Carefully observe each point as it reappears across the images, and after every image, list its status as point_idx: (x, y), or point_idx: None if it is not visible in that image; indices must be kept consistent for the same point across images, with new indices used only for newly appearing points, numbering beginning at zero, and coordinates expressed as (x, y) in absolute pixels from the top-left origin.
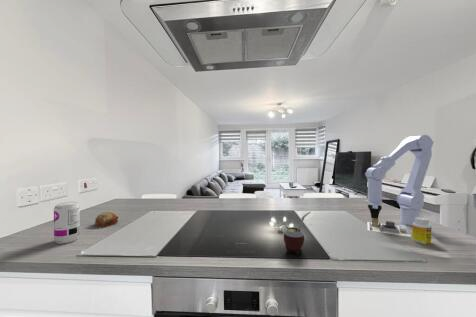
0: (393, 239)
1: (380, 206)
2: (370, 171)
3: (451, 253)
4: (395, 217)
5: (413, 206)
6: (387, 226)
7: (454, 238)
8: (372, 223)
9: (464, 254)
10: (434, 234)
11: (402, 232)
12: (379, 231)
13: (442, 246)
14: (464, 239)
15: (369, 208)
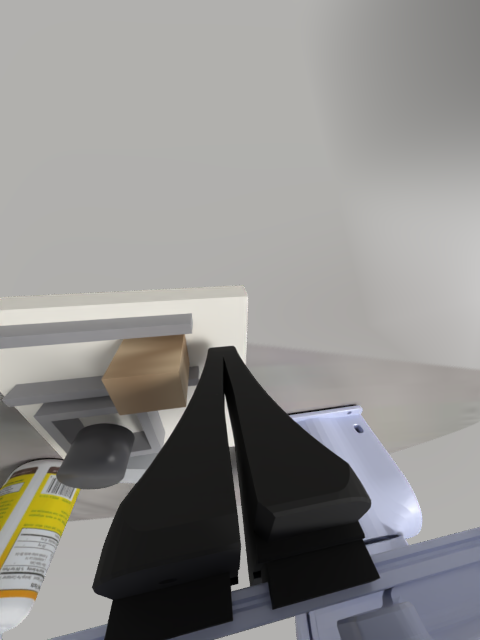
0: (17, 413)
1: (251, 580)
2: None
3: None
4: (441, 391)
5: (296, 623)
6: (77, 436)
7: None
8: (119, 352)
9: (75, 515)
10: (236, 473)
11: None
12: (8, 381)
13: (106, 493)
14: None
15: (133, 497)
